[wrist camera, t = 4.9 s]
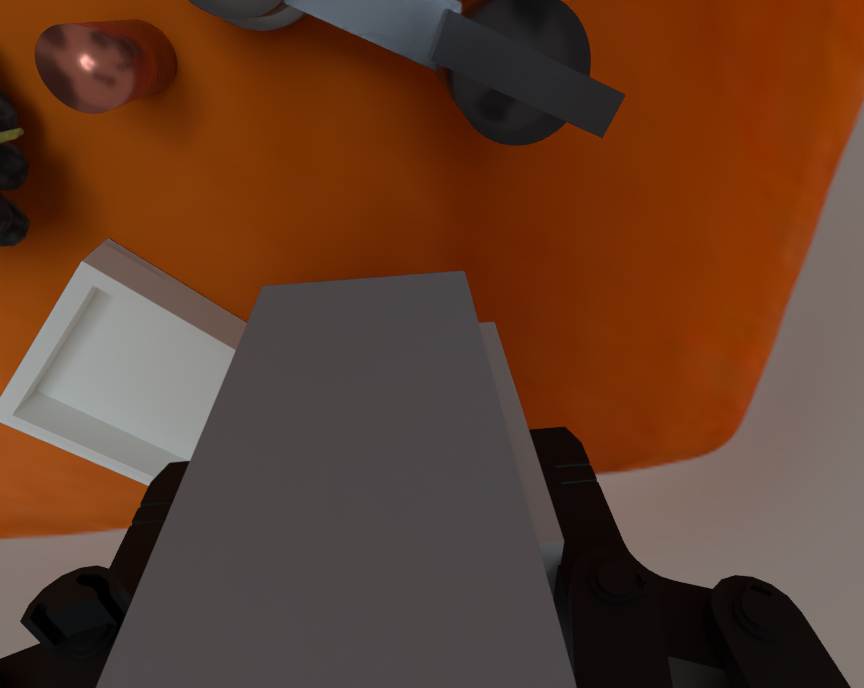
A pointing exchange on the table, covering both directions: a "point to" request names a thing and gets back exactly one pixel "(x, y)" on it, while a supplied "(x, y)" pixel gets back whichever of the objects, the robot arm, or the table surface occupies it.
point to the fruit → (11, 175)
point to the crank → (477, 56)
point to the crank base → (118, 59)
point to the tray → (123, 366)
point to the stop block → (349, 511)
